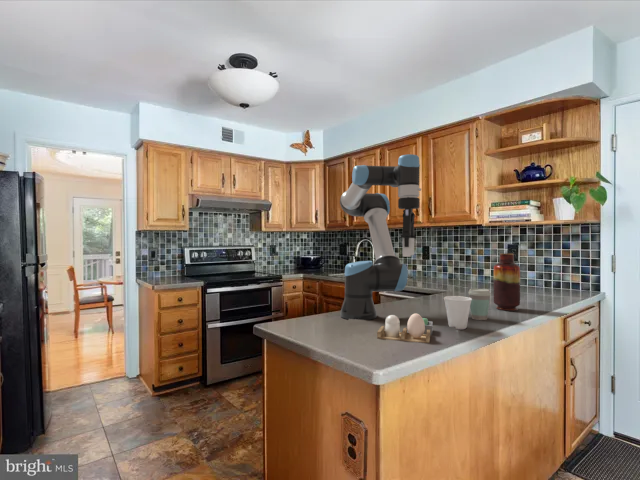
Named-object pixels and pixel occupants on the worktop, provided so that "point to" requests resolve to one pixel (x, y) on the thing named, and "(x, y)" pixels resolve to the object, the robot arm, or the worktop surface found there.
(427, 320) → the button
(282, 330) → the worktop surface
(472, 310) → the coffee cup
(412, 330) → the egg
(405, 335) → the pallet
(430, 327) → the button collar
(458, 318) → the cup
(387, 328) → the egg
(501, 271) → the vase
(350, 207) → the robot arm
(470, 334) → the worktop surface
